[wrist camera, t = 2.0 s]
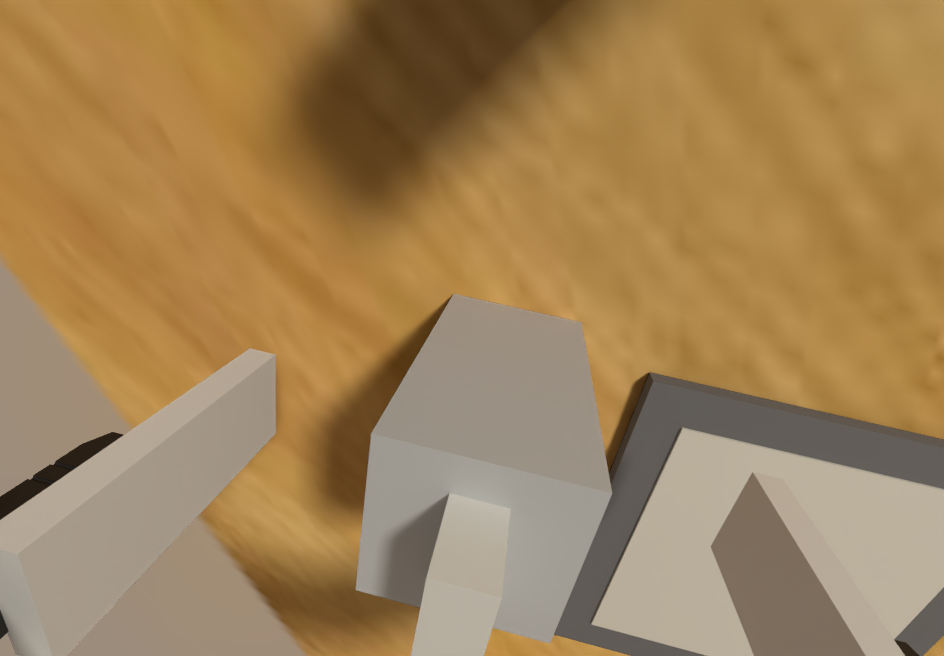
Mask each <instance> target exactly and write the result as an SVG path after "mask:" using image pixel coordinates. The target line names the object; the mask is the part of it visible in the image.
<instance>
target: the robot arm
mask: <svg viewBox="0 0 944 656" xmlns="http://www.w3.org/2000/svg"><path fill="white" fill-rule="evenodd" d="M275 434H276V355H275V354H271V353H267V352H263V351H259V350H254V349H249V350H247V351H246V352H244V353H243V354H241V355H240V356H238V357H237V358H235V359H234V360H233V361H231V362H230V363H228V364H227V365H225V366H224V367H222V368H221V369H219V370H218V371H217V372H215V373H214V374H212V375H211V376H209V377H208V378H206V379H205V380H203V381H202V382H201V383H199V384H198V385H196V386H195V387H193V388H192V389H190V390H189V391H187V392H186V393H185V394H183V395H182V396H180V397H179V398H177V399H176V400H174V401H173V402H171V403H170V404H168V405H167V406H166V407H164V408H163V409H161V410H160V411H158V412H157V413H155V414H154V415H152V416H151V417H150V418H148V419H147V420H145V421H144V422H142V423H141V424H139V425H138V426H136V427H135V428H134V429H132V430H131V431H129V432H128V433H126V434H125V435H122V434H118V433H114V432H111V433H109V434H106V435H104V436H101V437H99V438H96V439H94V440H91V441H89V442H86V443H83V444H81V445H80V446H78V447H77V448H75V449H74V450H72V451H70V452H69V453H68V454H66V455H64V456H63V457H61V458H60V459H58V460H57V461H56V462H55V464H54V465H49V466H47V467H46V468H44V469H43V470H41V471H39V472H38V473H36V474H35V475H34V476H33V478H32V479H31V480H29V479H27V480H25V481H24V482H22V483H21V484H19V485H18V486H16V487H15V488H13V489H12V490H10V491H8V492H7V493H5V494H4V495H2V496H1V497H0V639H1V638H2V637H3V636H4V635H5V634H6V633H8V636H9V638H10V641H11V643H12V646H13V648H14V651H15V653H16V654H17V655H21V656H66V655H67V654H68V653H69V652H70V651H71V650H72V649H73V648H74V647H75V646H76V645H77V644H78V643H79V642H80V641H81V640H82V639H83V637H84V636H85V635H86V634H87V633H88V632H89V631H90V630H91V629H92V628H93V627H94V626H95V625H96V624H97V622H99V620H100V619H101V618H102V617H103V616H104V615H105V614H106V613H107V612H108V611H109V610H110V609H111V608H112V607H113V606H114V604H116V602H117V601H118V600H119V599H120V598H121V597H122V596H123V595H124V594H125V593H126V592H127V591H128V590H129V589H130V588H131V586H133V584H134V583H135V582H136V581H137V580H138V579H139V578H140V577H141V576H142V575H143V574H144V573H145V572H146V571H147V570H148V569H149V567H150V566H151V565H152V564H153V563H154V562H155V561H156V560H157V559H158V558H159V557H160V556H161V555H162V553H164V552H165V550H166V549H167V548H168V547H169V546H170V545H171V544H172V543H173V542H174V541H175V540H176V539H177V538H178V537H179V536H180V535H181V533H182V532H183V531H184V530H185V529H186V528H187V527H188V526H189V525H190V524H191V523H192V522H193V521H194V520H195V519H196V518H197V517H198V515H199V514H200V513H201V512H202V511H203V510H204V509H205V508H206V507H207V506H208V505H209V504H210V503H211V502H212V501H213V500H214V498H215V497H216V496H217V495H218V494H219V493H220V492H221V491H222V490H223V489H224V488H225V487H226V486H227V485H228V484H229V483H230V482H231V480H232V479H233V478H234V477H235V476H236V475H237V474H238V473H239V472H240V471H241V470H242V469H243V468H244V467H245V466H246V465H247V463H248V462H249V461H250V460H251V459H252V458H253V457H254V456H255V455H256V454H257V453H258V452H259V451H260V450H261V449H262V448H263V446H264V445H265V444H266V443H267V442H268V441H269V440H270V439H271V438H272V437H273V436H274V435H275ZM711 549H712V551H713V554H714V556H715V559H716V561H717V564H718V566H719V569H720V571H721V574H722V577H723V579H724V582H725V584H726V587H727V589H728V592H729V594H730V597H731V599H732V602H733V604H734V607H735V609H736V612H737V614H738V617H739V619H740V622H741V624H742V627H743V629H744V632H745V634H746V637H747V639H748V642H749V645H750V647H751V650H752V652H753V655H754V656H919V655H918V654H917V653H916V652H915V651H914V650H913V649H912V648H911V647H910V646H909V645H908V644H907V643H905V642H902V641H898V640H894V639H893V637H892V636H891V635H890V633H889V632H888V630H887V629H886V627H885V626H884V624H883V623H882V622H881V620H880V619H879V617H878V616H877V614H876V613H875V611H874V610H873V609H872V607H871V606H870V604H869V603H868V601H867V600H866V598H865V597H864V596H863V594H862V593H861V591H860V590H859V588H858V587H857V585H856V584H855V583H854V581H853V580H852V578H851V577H850V575H849V574H848V572H847V571H846V570H845V568H844V567H843V565H842V564H841V562H840V561H839V559H838V558H837V557H836V555H835V554H834V552H833V551H832V549H831V548H830V546H829V545H828V544H827V542H826V541H825V539H824V538H823V536H822V535H821V533H820V532H819V531H818V529H817V528H816V526H815V525H814V523H813V522H812V520H811V519H810V518H809V516H808V515H807V513H806V512H805V510H804V509H803V507H802V506H801V504H800V503H799V502H798V500H797V499H796V497H795V496H794V494H793V493H792V491H791V490H790V489H789V487H788V486H787V484H786V483H785V481H784V480H783V479H780V478H776V477H772V476H768V475H764V474H760V473H756V472H752V474H751V476H750V477H749V479H748V481H747V483H746V484H745V486H744V488H743V490H742V492H741V493H740V495H739V497H738V499H737V500H736V502H735V504H734V506H733V507H732V509H731V511H730V513H729V515H728V516H727V518H726V520H725V522H724V523H723V525H722V527H721V529H720V530H719V532H718V534H717V536H716V538H715V539H714V541H713V543H712V545H711Z"/></svg>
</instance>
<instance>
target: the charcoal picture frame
mask: <svg viewBox="0 0 944 656" xmlns="http://www.w3.org/2000/svg"><path fill="white" fill-rule="evenodd" d="M752 472H756V473H760V474H764V475H768V476H772V477H776V478H780V479H783V480H784V481H785V483H786V484H787V486H788V487H789V489H790V490H791V491H792V493H793V494H794V496H795V497H796V499H797V500H798V502H799V503H800V504H801V506H802V507H803V509H804V510H805V512H806V513H807V515H808V516H809V518H810V519H811V520H812V522H813V523H814V525H815V526H816V528H817V529H818V531H819V532H820V533H821V535H822V536H823V538H824V539H825V541H826V542H827V544H828V545H829V546H830V548H831V549H832V551H833V552H834V554H835V555H836V557H837V558H838V559H839V561H840V562H841V564H842V565H843V567H844V568H845V570H846V571H847V572H848V574H849V575H850V577H851V578H852V580H853V581H854V583H855V584H856V585H857V587H858V588H859V590H860V591H861V593H862V594H863V596H864V597H865V598H866V600H867V601H868V603H869V604H870V606H871V607H872V609H873V610H874V611H875V613H876V614H877V616H878V617H879V619H880V620H881V622H882V623H883V624H884V626H885V627H886V629H887V630H888V632H889V633H890V635H891V636H892V637H893V639H894V640H898V641H902V642H905V643H907V644H908V645H909V646H910V647H911V648H912V649H913V650H914V651H915V652H916V653H917V654H918V655H919V656H923V655H924V654H925V653H926V652H927V651H928V650H929V649H930V648H931V647H932V646H933V645H934V644H935V643H936V642H937V641H938V640H939V639H940V638H941V637H942V636H943V635H944V440H943V439H938V438H934V437H930V436H925V435H921V434H917V433H912V432H908V431H904V430H899V429H895V428H890V427H886V426H882V425H877V424H873V423H869V422H864V421H860V420H855V419H851V418H847V417H842V416H838V415H834V414H829V413H825V412H821V411H816V410H812V409H807V408H803V407H799V406H794V405H790V404H786V403H781V402H777V401H772V400H768V399H764V398H759V397H755V396H751V395H746V394H742V393H738V392H733V391H729V390H724V389H720V388H716V387H711V386H707V385H703V384H698V383H694V382H689V381H685V380H681V379H676V378H672V377H668V376H663V375H659V374H655V373H649V375H648V378H647V380H646V383H645V385H644V388H643V390H642V393H641V395H640V398H639V400H638V403H637V405H636V408H635V410H634V413H633V415H632V418H631V420H630V423H629V425H628V428H627V430H626V433H625V435H624V438H623V440H622V443H621V445H620V448H619V450H618V453H617V455H616V458H615V460H614V463H613V465H612V468H611V470H610V473H609V478H610V483H611V489H612V495H611V498H610V500H609V503H608V505H607V508H606V510H605V512H604V515H603V517H602V520H601V522H600V524H599V527H598V529H597V532H596V534H595V536H594V539H593V541H592V544H591V546H590V548H589V551H588V553H587V556H586V558H585V560H584V563H583V565H582V568H581V570H580V572H579V575H578V577H577V580H576V582H575V585H574V587H573V589H572V592H571V594H570V597H569V599H568V601H567V604H566V606H565V609H564V611H563V613H562V616H561V618H560V621H559V623H558V625H557V628H556V630H555V633H554V635H558V636H561V637H565V638H569V639H572V640H576V641H580V642H583V643H587V644H591V645H594V646H598V647H602V648H605V649H609V650H613V651H616V652H620V653H624V654H627V655H631V656H754V655H753V652H752V650H751V647H750V645H749V642H748V639H747V637H746V634H745V632H744V629H743V627H742V624H741V622H740V619H739V617H738V614H737V612H736V609H735V607H734V604H733V602H732V599H731V597H730V594H729V592H728V589H727V587H726V584H725V582H724V579H723V577H722V574H721V571H720V569H719V566H718V564H717V561H716V559H715V556H714V554H713V551H712V549H711V545H712V543H713V541H714V539H715V538H716V536H717V534H718V532H719V530H720V529H721V527H722V525H723V523H724V522H725V520H726V518H727V516H728V515H729V513H730V511H731V509H732V507H733V506H734V504H735V502H736V500H737V499H738V497H739V495H740V493H741V492H742V490H743V488H744V486H745V484H746V483H747V481H748V479H749V477H750V476H751V474H752Z"/></svg>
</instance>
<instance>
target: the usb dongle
mask: <svg viewBox="0 0 944 656" xmlns="http://www.w3.org/2000/svg"><path fill="white" fill-rule="evenodd" d="M611 495H612V489H611V483H610V478H609V472H608V467H607V461H606V456H605V450H604V445H603V439H602V434H601V428H600V422H599V417H598V411H597V406H596V400H595V395H594V389H593V384H592V378H591V373H590V367H589V361H588V356H587V350H586V345H585V339H584V334H583V328H582V323H581V322H578V321H573V320H569V319H565V318H560V317H556V316H551V315H547V314H542V313H538V312H533V311H529V310H524V309H520V308H515V307H511V306H506V305H502V304H497V303H493V302H489V301H484V300H480V299H475V298H471V297H466V296H462V295H457V294H453V296H452V297H451V299H450V301H449V303H448V304H447V306H446V308H445V309H444V311H443V313H442V314H441V316H440V318H439V319H438V321H437V323H436V325H435V326H434V328H433V330H432V331H431V333H430V335H429V336H428V338H427V340H426V341H425V343H424V345H423V347H422V348H421V350H420V352H419V353H418V355H417V357H416V358H415V360H414V362H413V363H412V365H411V367H410V369H409V370H408V372H407V374H406V375H405V377H404V379H403V380H402V382H401V384H400V386H399V387H398V389H397V391H396V392H395V394H394V396H393V397H392V399H391V401H390V402H389V404H388V406H387V408H386V409H385V411H384V413H383V414H382V416H381V418H380V419H379V421H378V423H377V424H376V426H375V428H374V430H373V431H372V433H371V441H370V451H369V460H368V470H367V480H366V490H365V500H364V510H363V520H362V530H361V540H360V550H359V560H358V570H357V580H356V590H357V591H361V592H364V593H368V594H372V595H375V596H379V597H383V598H386V599H390V600H393V601H397V602H401V603H404V604H408V605H412V606H415V607H419V608H420V612H419V617H418V622H417V627H416V632H415V637H414V642H413V647H412V652H411V656H484V653H485V650H486V647H487V644H488V640H489V637H490V634H491V631H492V628H495V629H499V630H502V631H506V632H510V633H513V634H517V635H521V636H524V637H528V638H532V639H535V640H539V641H542V642H546V643H550V642H551V640H552V637H553V635H554V633H555V630H556V628H557V625H558V623H559V621H560V618H561V616H562V613H563V611H564V609H565V606H566V604H567V601H568V599H569V597H570V594H571V592H572V589H573V587H574V585H575V582H576V580H577V577H578V575H579V572H580V570H581V568H582V565H583V563H584V560H585V558H586V556H587V553H588V551H589V548H590V546H591V544H592V541H593V539H594V536H595V534H596V532H597V529H598V527H599V524H600V522H601V520H602V517H603V515H604V512H605V510H606V508H607V505H608V503H609V500H610V498H611Z"/></svg>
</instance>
